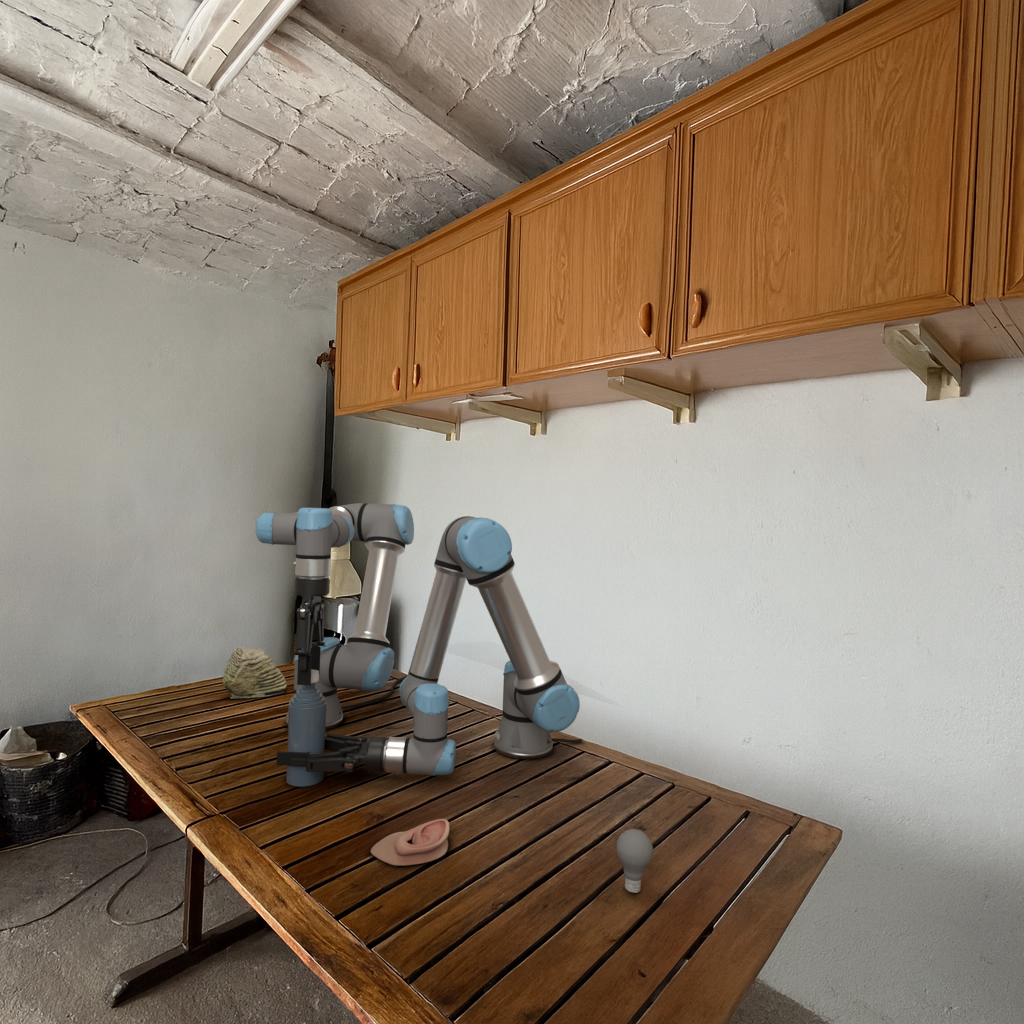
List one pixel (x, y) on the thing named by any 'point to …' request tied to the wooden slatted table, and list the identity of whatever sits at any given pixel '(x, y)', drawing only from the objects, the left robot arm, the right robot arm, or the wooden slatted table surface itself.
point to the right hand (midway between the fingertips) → (284, 750)
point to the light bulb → (634, 857)
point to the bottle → (306, 732)
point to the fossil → (252, 674)
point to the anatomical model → (414, 844)
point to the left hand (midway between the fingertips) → (308, 679)
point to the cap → (314, 676)
